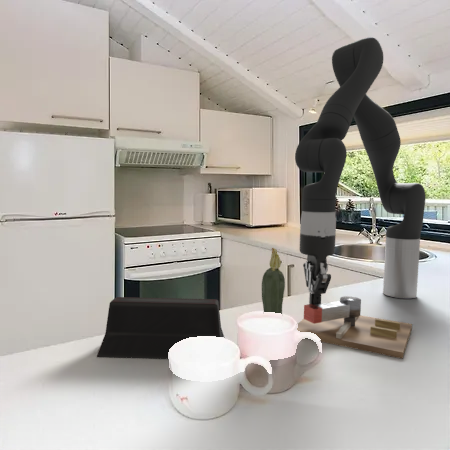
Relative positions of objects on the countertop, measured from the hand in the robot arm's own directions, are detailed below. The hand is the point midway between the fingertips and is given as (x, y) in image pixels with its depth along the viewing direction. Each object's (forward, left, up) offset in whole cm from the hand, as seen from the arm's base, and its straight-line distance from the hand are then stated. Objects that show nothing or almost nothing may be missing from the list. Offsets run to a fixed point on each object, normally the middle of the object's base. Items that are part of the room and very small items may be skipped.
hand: (314, 309), depth 87 cm
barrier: (+26, -21, -5) cm, 34 cm away
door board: (-3, +8, -5) cm, 10 cm away
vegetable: (+16, -3, -5) cm, 17 cm away
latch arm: (0, +4, -1) cm, 4 cm away
